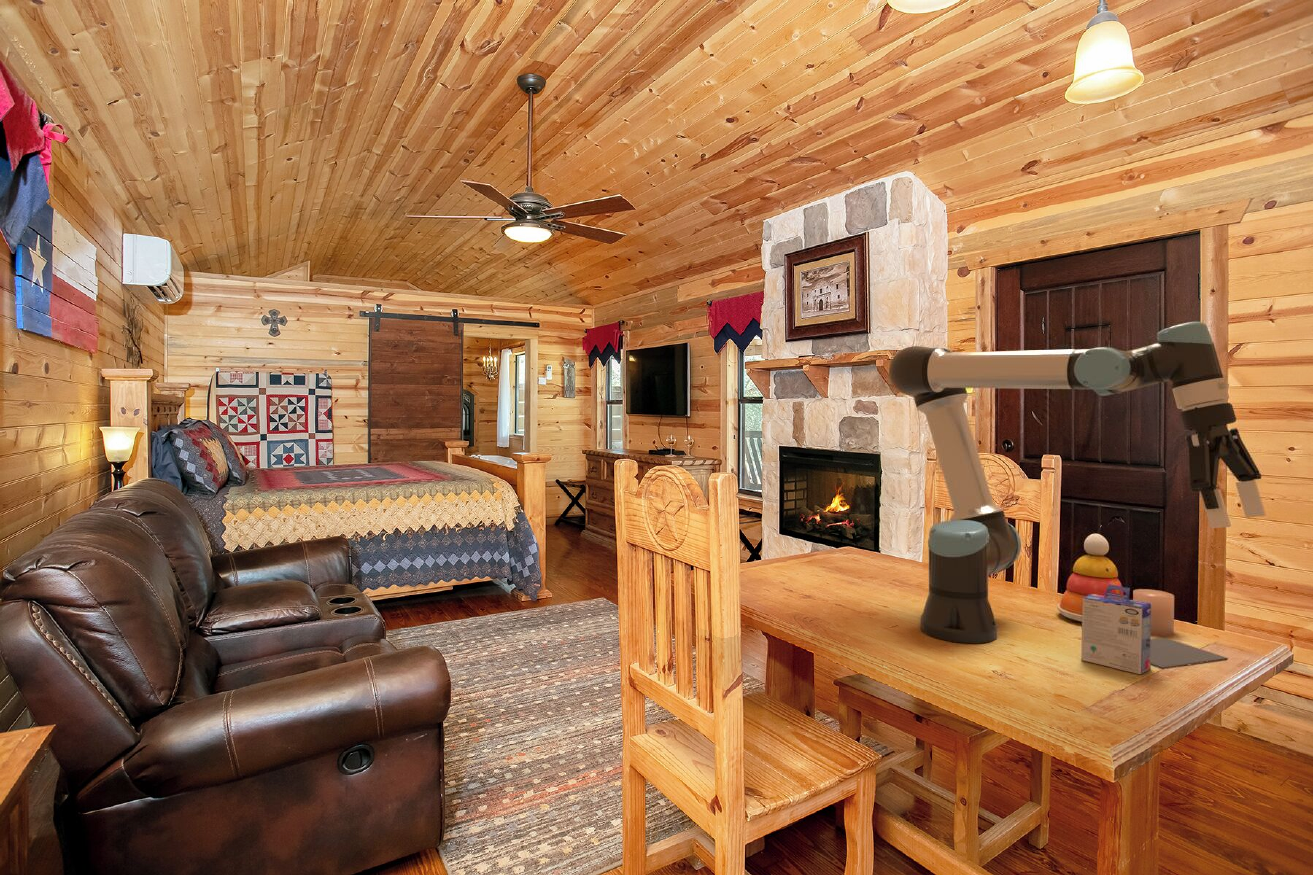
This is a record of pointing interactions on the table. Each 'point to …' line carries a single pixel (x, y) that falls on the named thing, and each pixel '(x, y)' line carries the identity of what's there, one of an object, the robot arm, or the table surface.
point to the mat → (1178, 654)
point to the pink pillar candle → (1158, 610)
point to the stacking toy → (1089, 577)
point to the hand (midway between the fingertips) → (1238, 521)
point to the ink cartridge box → (1116, 631)
